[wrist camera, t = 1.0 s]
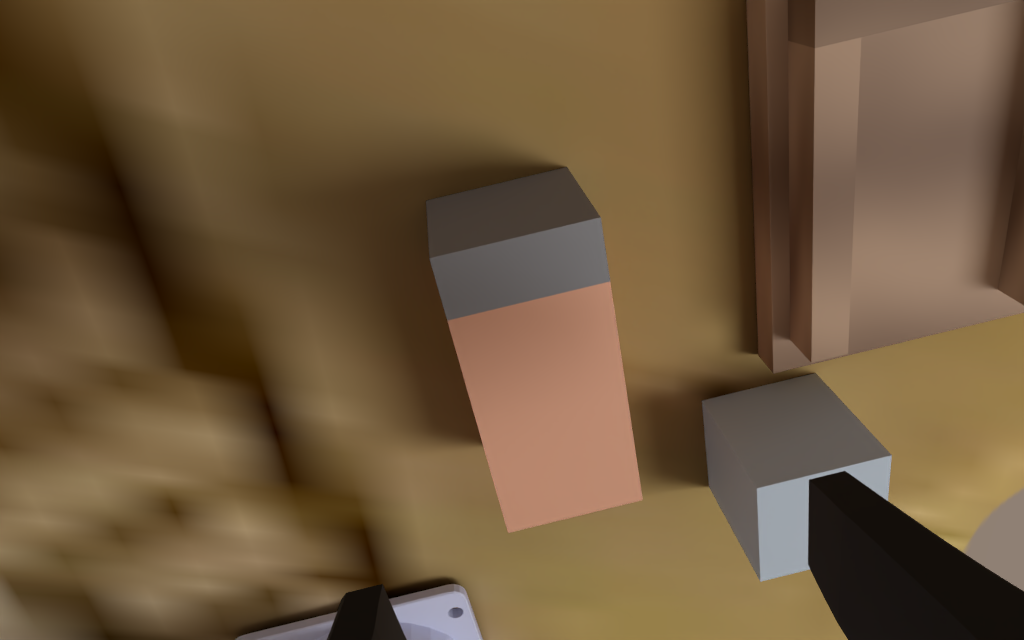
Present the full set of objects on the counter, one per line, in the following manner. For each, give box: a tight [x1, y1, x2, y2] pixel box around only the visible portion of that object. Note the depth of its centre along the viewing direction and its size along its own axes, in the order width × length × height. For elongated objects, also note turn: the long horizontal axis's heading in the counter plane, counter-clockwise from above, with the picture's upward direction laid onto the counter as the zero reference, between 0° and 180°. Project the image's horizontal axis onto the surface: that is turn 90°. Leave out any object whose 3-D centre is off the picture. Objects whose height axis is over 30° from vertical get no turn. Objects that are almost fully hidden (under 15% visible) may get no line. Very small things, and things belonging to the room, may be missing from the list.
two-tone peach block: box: [426, 167, 643, 533], centre depth 18 cm, size 8×4×4 cm, turn 12°
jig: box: [746, 0, 1024, 374], centre depth 18 cm, size 10×8×2 cm
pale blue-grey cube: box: [702, 373, 892, 582], centre depth 21 cm, size 4×4×4 cm
